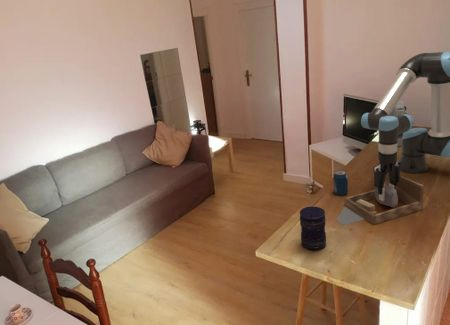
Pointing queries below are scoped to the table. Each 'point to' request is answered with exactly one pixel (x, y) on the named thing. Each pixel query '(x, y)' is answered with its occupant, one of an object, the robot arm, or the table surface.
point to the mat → (348, 217)
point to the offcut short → (366, 205)
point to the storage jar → (313, 228)
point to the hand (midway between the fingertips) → (386, 198)
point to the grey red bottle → (399, 111)
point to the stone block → (388, 196)
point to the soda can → (340, 182)
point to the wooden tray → (406, 193)
